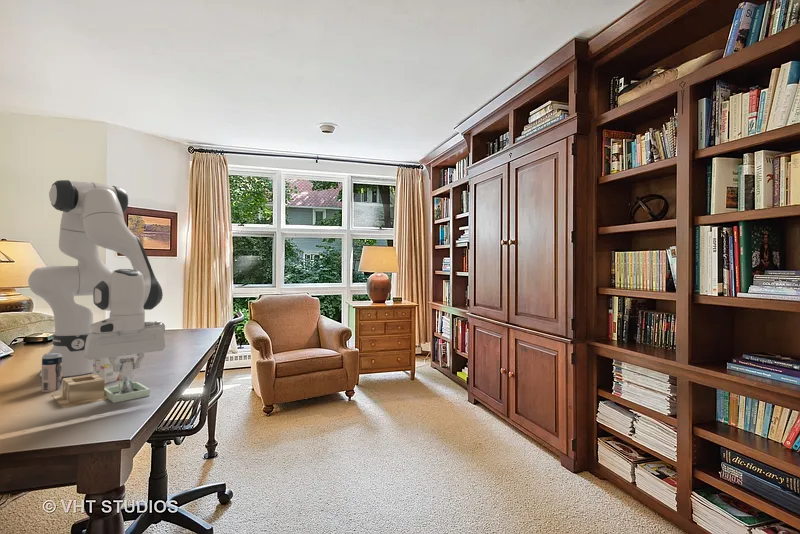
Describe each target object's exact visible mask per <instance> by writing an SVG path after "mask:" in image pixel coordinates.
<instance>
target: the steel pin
mask: <svg viewBox="0 0 800 534" xmlns="http://www.w3.org/2000/svg"><path fill="white" fill-rule="evenodd" d="M134 362H135V357H133V356H132V357H131V356H130V357H129V356H126V357H125V358H120V365H121V368H120V369H121V370H120V371H119V380H118V385H119V392H118V394H124V393H130V392H134V389H133V388H134V383H135V381H134V380H135V379H134V377H135V375H134V374H135V369H134Z"/></svg>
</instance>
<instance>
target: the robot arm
mask: <svg viewBox="0 0 800 534" xmlns="http://www.w3.org/2000/svg"><path fill="white" fill-rule="evenodd" d="M48 197H49V201H50V204H51V206H52V207H53V208H54V209H55V210H56V211H59V212H62V215H61V219H60V226H59V235H58V236H59V237H58V238H59V239H58V248H59V250H60V252H61V253H62V254H64V255H66V256H68V257H70V258H72V259H75V260H76V261H77V265H50V266H43V267H37V268H35V269H34V270H33V271H32V272H31V273H30V275H29V277H28V280H27V283H28V288H29V289H30V291H31V292H32V293H33V294H35V296H38V297H40V298H41V299H42V300H44V301H45V302H46V303H47V305H49V307H50V308H51V311H52V313H53V318H54V320H53V321H54V334H53V336H52V337H53V338H52V345H53V346H52V348H51V349H50V350H49V351H48V353H60V354H61V355H62V378H67V377H77V376H83V375H88V374H92V373H93V359H100V358H108V357H109V361H110V362H111V364H112V365H113V371H114V372H118V371H120V370H121V369H120V368H121V365H119V364H118V365H117V364H116V363H115V361H114V360H116V356H124V355H126V356H133V355H136V356H137V359H136V360H135V361H134V370H135V369H136V370H137V369H140V367H141V363H142V361H143V359H144V357H145V353H153V352H162V351H163V350H164V349H165V348H166V339H165V332H166V325H165V324H164V322H161V321H159V320H158V321H156V320H155V321H145V320H146V319H145V318H146V317H145V315H146V312H145V311H151V310H153V309H154V308H156V307H157V306H159V304H160V303H161V301H162V300H163V289H162V286H161V284H160V283H159V281H158V279H157V277H156V276H155V273H154V270H153V267H152V266H151V263H150V260H149V258H148V255H147V253H146V250H145V248H144V246H143V243H142V241H141V239H140V237H138V236H137V235H135V234H134V233H133V232H132V231H131V229H129V227H128V225H127V224H126V222H125V221H126V220H125V216H124V213H126V212H127V210H128V207H129V195H128V192H126V190H125V189H124V188H121V187H119V186H114V185H107V184H104V183H98V182H91V181H90V182H88V181H86V182H85V181H76V180H75V181H74V180H73V181H71V180H69V179H66V180H65V179H64V180H63V179H62V180H61V179H60V180H56V181H54V183H52V185H51V187H50V190H49V192H48ZM99 247H101V248H103V249H106V250H110V251H113V252H116V253H118V254H120V255H122V256H124V257H126V258H127V259H128V260H129V261H130V264H131V267H132V269H130V268H119V269H116V270H113V269H111V268H110V267H109V266H107V265H106V264H105V263H104V262H103V260H102V259H101V258H102V257H101V256H100V254H99ZM79 296H81V297H82V296H83V297H84V296H92V298H93V304H94V305H95V306H96V307H97V308H98V309H100V310H101V311H107V312H109V318H106V319H103V320H100V321H96V322H94V312H93V311H92V310H91V309H90V308H89V307H86V306H84V305H82V304H78V303H76V302H75V300H74V297H79ZM39 378H42V370H40V373H39Z"/></svg>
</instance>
